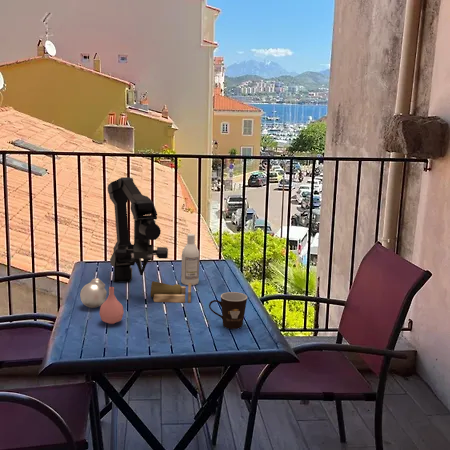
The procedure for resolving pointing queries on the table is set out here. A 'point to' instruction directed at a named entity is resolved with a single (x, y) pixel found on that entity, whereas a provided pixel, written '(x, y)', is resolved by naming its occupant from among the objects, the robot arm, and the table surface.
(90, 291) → the silver christmas ornament
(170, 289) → the cork
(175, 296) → the cradle
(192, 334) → the table surface
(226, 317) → the coffee mug
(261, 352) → the table surface
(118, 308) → the pink bulb vase
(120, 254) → the robot arm
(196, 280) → the bath foam
